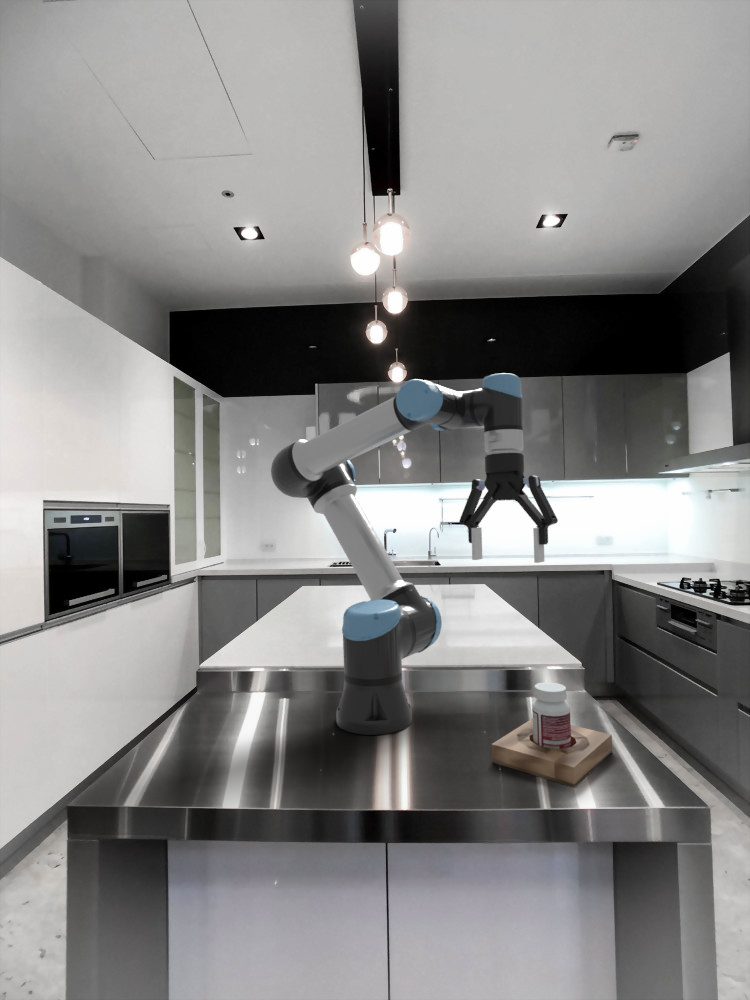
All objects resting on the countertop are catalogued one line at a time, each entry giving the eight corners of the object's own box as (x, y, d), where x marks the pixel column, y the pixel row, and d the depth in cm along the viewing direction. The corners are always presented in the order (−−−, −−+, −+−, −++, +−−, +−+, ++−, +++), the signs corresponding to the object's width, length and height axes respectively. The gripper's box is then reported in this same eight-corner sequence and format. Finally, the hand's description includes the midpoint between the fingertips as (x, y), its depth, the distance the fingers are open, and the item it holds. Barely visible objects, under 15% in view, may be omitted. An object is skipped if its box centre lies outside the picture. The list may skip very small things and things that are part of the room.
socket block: (492, 762, 96) (491, 744, 96) (535, 732, 108) (535, 716, 108) (574, 787, 86) (573, 767, 86) (612, 752, 98) (611, 734, 98)
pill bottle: (579, 756, 96) (577, 688, 96) (554, 765, 93) (552, 695, 93) (550, 743, 101) (548, 679, 101) (525, 752, 98) (523, 685, 98)
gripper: (441, 457, 119) (444, 559, 119) (556, 446, 103) (559, 565, 103) (461, 459, 125) (463, 557, 125) (573, 449, 109) (576, 561, 108)
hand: (507, 560), depth 114 cm, fingers open, 13 cm apart
